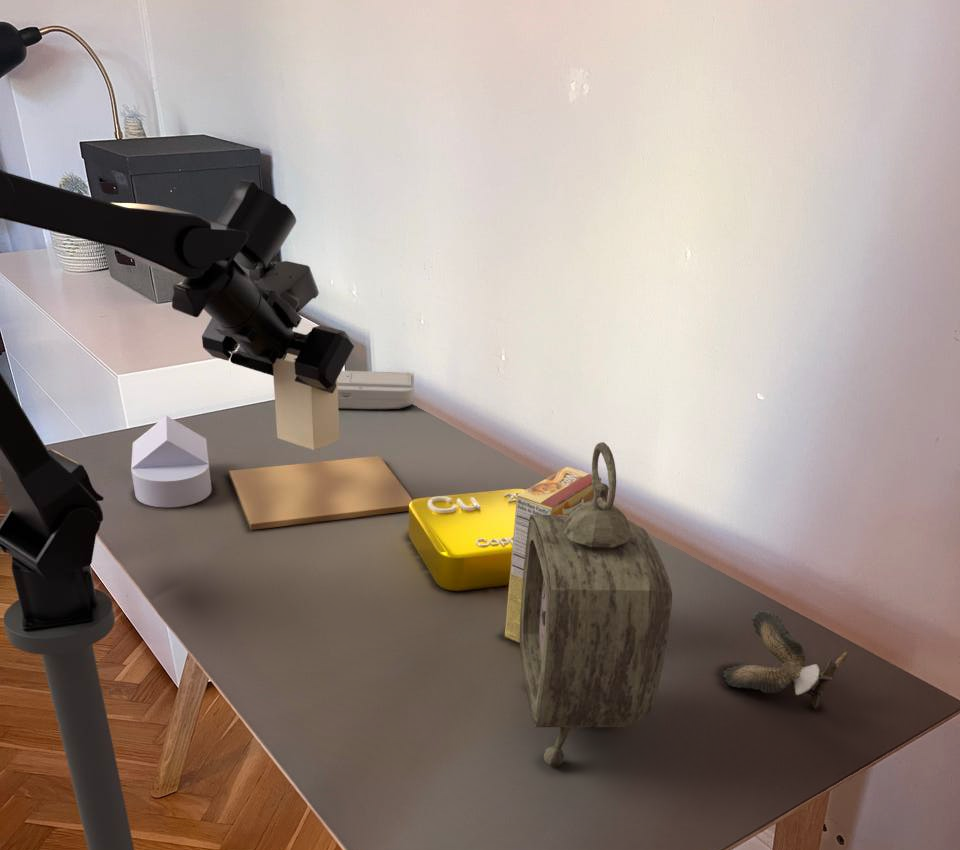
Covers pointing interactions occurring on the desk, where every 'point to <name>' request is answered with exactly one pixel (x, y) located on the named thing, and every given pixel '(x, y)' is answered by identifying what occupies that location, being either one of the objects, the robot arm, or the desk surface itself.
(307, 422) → the toaster
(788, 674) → the eagle figurine
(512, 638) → the candy box
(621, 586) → the tabletop clock
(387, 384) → the handheld gaming device
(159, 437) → the wedge on round base
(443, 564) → the element tile
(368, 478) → the cork mat
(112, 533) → the desk surface
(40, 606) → the robot arm
